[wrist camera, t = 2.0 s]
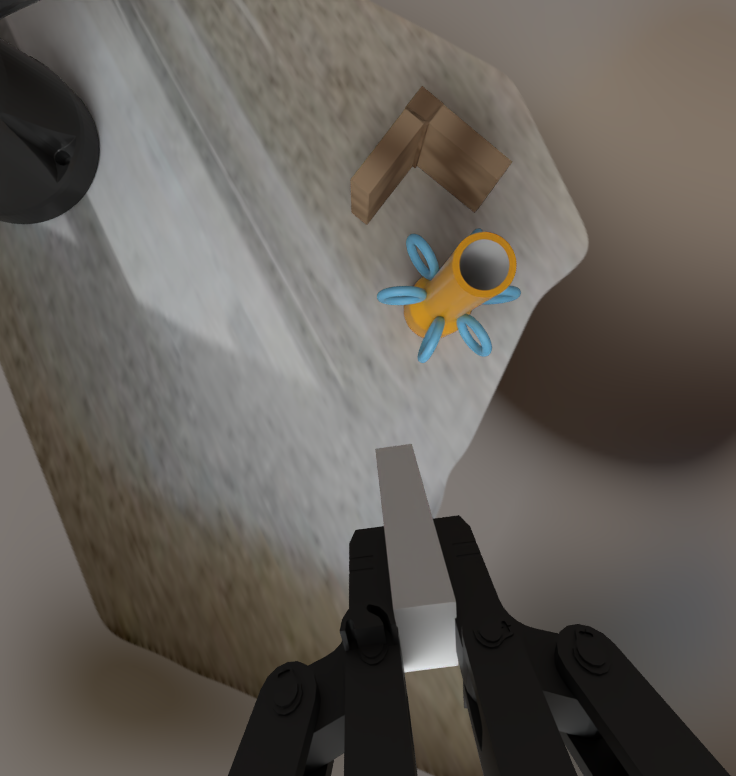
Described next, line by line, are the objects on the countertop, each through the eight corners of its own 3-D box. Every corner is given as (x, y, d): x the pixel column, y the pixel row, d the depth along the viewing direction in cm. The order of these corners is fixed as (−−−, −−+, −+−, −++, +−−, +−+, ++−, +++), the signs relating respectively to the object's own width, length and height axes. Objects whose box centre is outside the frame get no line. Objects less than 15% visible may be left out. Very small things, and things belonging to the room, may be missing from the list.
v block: (487, 211, 36) (514, 178, 30) (353, 226, 36) (352, 196, 30) (478, 127, 36) (503, 77, 30) (342, 142, 35) (339, 94, 29)
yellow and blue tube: (504, 331, 37) (607, 300, 22) (423, 387, 37) (470, 393, 22) (440, 233, 36) (500, 132, 21) (358, 290, 36) (359, 227, 21)
